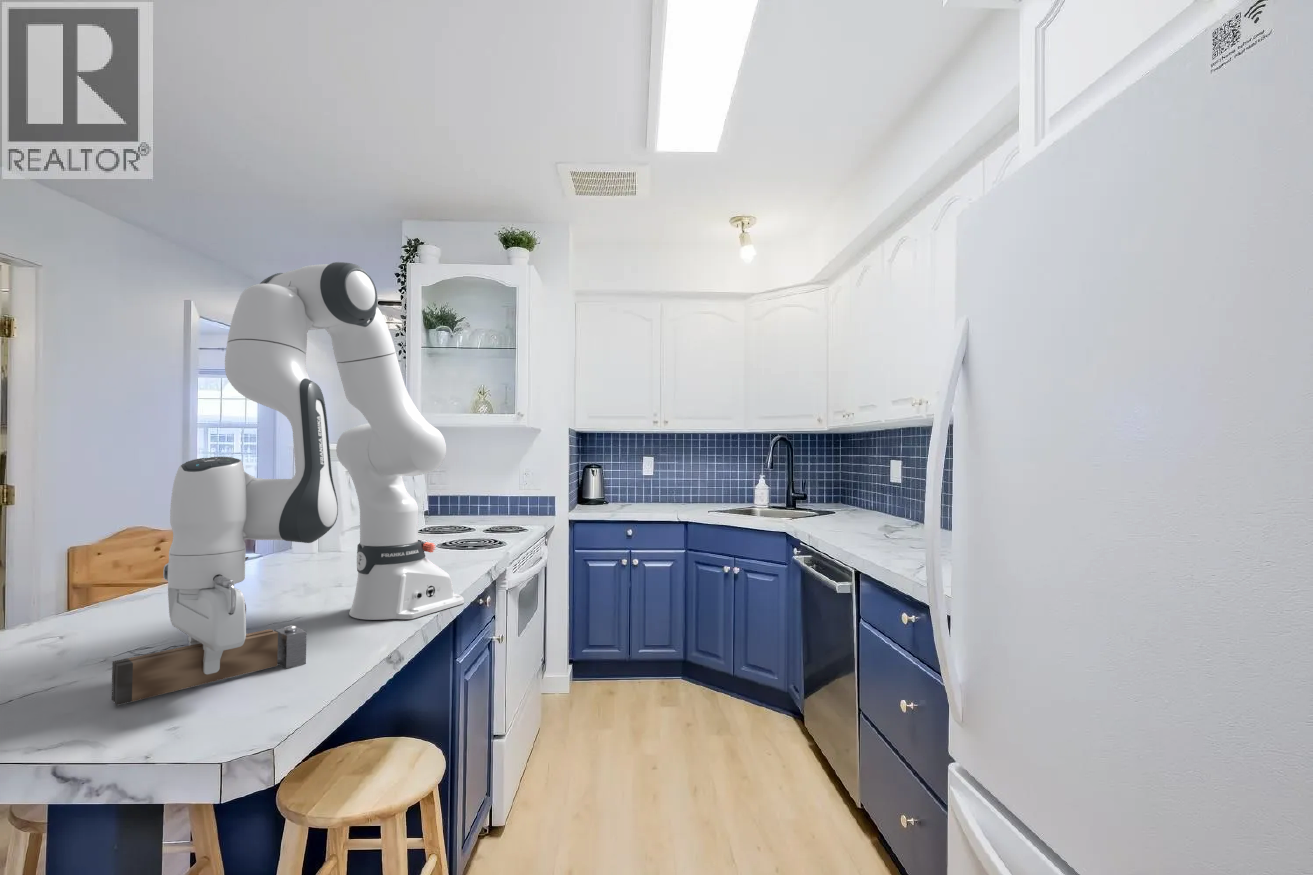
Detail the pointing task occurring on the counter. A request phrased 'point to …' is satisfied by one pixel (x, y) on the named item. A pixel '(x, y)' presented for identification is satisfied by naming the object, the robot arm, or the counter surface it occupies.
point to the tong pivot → (291, 646)
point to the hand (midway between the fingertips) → (205, 668)
